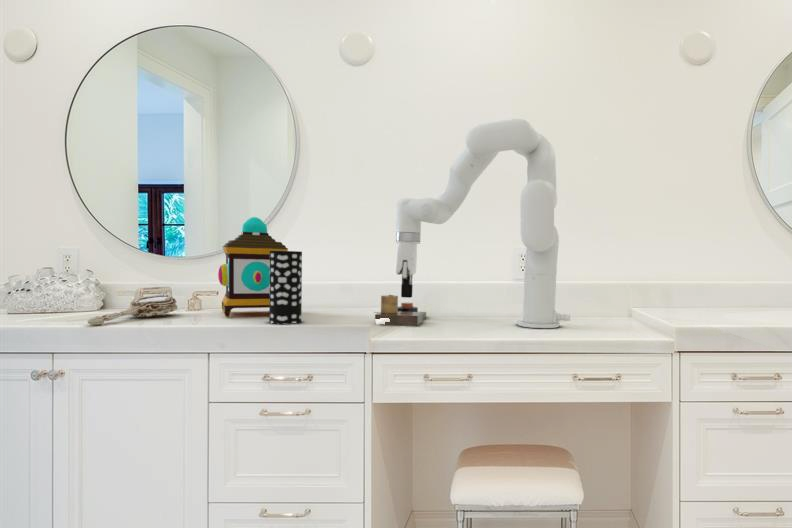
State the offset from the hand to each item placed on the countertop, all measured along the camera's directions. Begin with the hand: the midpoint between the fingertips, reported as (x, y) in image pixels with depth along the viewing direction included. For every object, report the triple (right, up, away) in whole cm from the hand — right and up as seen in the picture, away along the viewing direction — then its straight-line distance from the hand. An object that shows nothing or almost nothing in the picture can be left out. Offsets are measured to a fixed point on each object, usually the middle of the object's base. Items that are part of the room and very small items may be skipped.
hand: (406, 297), depth 173 cm
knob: (-3, -5, -13) cm, 14 cm away
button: (0, -4, 0) cm, 4 cm away
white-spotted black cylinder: (-31, -7, -18) cm, 36 cm away
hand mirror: (-70, -6, -22) cm, 74 cm away
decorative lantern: (-47, -5, -2) cm, 47 cm away
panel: (0, -8, -13) cm, 15 cm away
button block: (0, -7, 0) cm, 7 cm away
